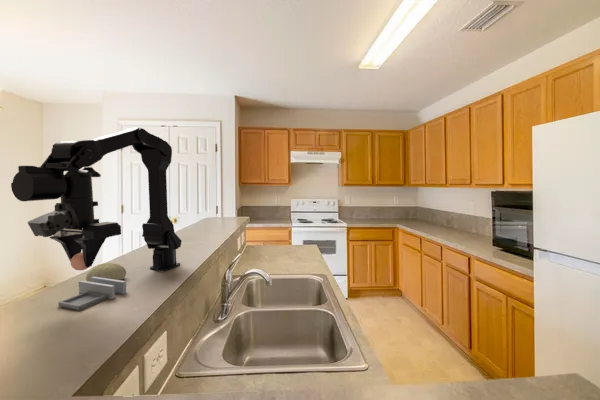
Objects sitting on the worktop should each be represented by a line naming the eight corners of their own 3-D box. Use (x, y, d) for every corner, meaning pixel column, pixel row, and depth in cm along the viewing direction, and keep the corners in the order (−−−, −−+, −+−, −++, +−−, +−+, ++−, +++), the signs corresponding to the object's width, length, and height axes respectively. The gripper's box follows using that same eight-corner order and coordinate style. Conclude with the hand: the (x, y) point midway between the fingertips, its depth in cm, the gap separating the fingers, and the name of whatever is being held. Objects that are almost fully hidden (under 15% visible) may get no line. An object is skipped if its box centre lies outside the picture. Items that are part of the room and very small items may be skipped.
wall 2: (94, 287, 74) (93, 276, 74) (126, 292, 71) (125, 281, 70) (91, 288, 73) (90, 277, 73) (123, 294, 70) (122, 282, 70)
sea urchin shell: (109, 282, 73) (89, 259, 74) (92, 301, 75) (73, 279, 75) (136, 270, 82) (118, 250, 83) (120, 287, 84) (103, 268, 84)
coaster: (87, 295, 69) (87, 291, 69) (107, 298, 67) (106, 294, 67) (58, 306, 63) (58, 302, 63) (78, 310, 61) (78, 306, 61)
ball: (66, 271, 64) (65, 254, 63) (85, 266, 67) (84, 249, 67) (79, 273, 62) (78, 255, 62) (97, 268, 66) (96, 251, 66)
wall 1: (82, 292, 71) (81, 280, 71) (115, 297, 68) (114, 285, 68) (79, 293, 70) (78, 281, 70) (112, 299, 67) (111, 286, 67)
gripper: (4, 199, 59) (10, 273, 60) (66, 201, 53) (72, 283, 54) (63, 196, 69) (68, 258, 71) (121, 197, 63) (124, 265, 65)
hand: (81, 265), depth 65 cm, fingers closed on ball, 4 cm apart
